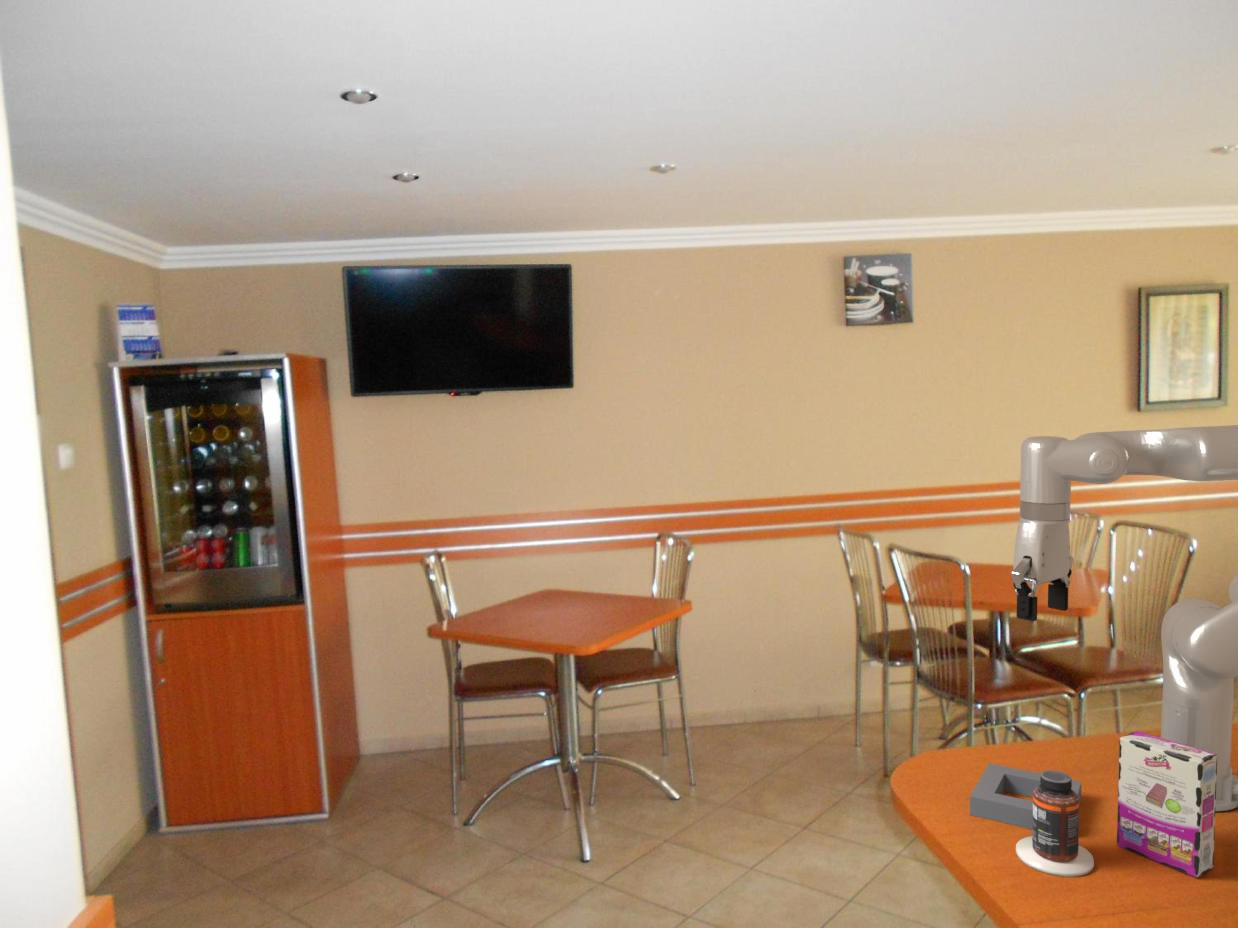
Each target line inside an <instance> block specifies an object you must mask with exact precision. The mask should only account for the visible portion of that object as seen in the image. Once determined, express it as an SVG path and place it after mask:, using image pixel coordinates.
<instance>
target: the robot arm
mask: <svg viewBox="0 0 1238 928" xmlns="http://www.w3.org/2000/svg"><path fill="white" fill-rule="evenodd" d="M1123 476H1155V477H1156V476H1157V477H1165V478H1171V479H1177V480H1182V481H1188V482H1191V481H1192V482H1220V481H1222V482H1223V481H1238V424H1235V425H1214V426H1209V425H1208V426H1193V427H1191V426H1190V427H1189V426H1188V427H1176V428H1175V427H1174V428H1163V429H1142V430H1141V429H1140V430H1137V429H1136V430H1118V431H1099V432H1098V431H1097V432H1095V431H1094V432H1088V433H1085V434H1081V435H1079V436H1078V437H1076V438H1075V439H1068V438H1065V437H1061V436H1050V435H1049V436H1047V435H1046V436H1045V435H1044V436H1042V435H1039V436H1038V435H1037V436H1031V437H1030V436H1029V437H1027V438H1025V439H1024V440H1023V441H1022V443H1021V448H1020V481H1019V482H1020V483H1019V484H1020V486H1019V487H1020V488H1019V522H1018V525H1017V530H1016V536H1015V541H1014V542H1015V544H1014V552H1013V553H1014V554H1013V567H1012V568H1013V570H1012V571H1011V577H1012V581H1013V588H1014V589H1015V591H1014V592H1015V593H1014V594H1015V595H1016V618H1017V619H1018V620H1019V619H1020V620H1025V621H1028V622H1029V621H1030V622H1035V621H1038V596H1036V593H1037V591H1038V589H1039V587H1040V585H1043V584H1046V583H1049V582H1050V583H1049V584H1047V585H1048V587H1047V607H1048V608H1049V609H1053V610H1058V611H1064V612H1065V611H1068V610H1069V586H1070V585H1071V580H1070V578H1071V576H1072V573H1073V572H1072V571H1073V570H1072V567H1073V564H1074V557H1073V556H1071V540H1070V526H1069V525H1070V522H1071V501H1072V500H1071V497H1072V496H1071V493H1072V491H1071V490H1072V482H1080V483H1087V484H1093V485H1107V484H1111V483H1114V482H1116V481H1118V480H1120V479H1121V478H1122V477H1123ZM1029 584H1030V586H1029ZM1228 596H1229V599H1230V602H1231V603H1229V604H1228V605H1226V606H1225V607H1220V606H1219V605H1217V604H1215V603H1213V602H1211V601H1208V600H1205V599H1200V598H1189V599H1183V600H1181V601H1179V602H1176V603H1174V605H1172V606H1171V607H1170V608H1169V609H1168V610H1167V611H1166V612H1165V615H1164V617H1163V619H1162V622H1161V631H1160V634H1161V636H1160V638H1161V639H1160V640H1161V651H1162V672H1163V673H1162V674H1163V675H1162V677H1163V680H1162V681H1163V682H1162V696H1161V697H1162V698H1161V702H1162V703H1161V723H1160V724H1161V725H1160V726H1161V727H1160V738H1163V739H1167V740H1170V741H1174V742H1177V743H1181V744H1184V745H1188V746H1191V747H1195V748H1198V749H1201V750H1204V751H1208V752H1211V753H1215V754H1217V779H1216V805H1215V812H1226V811H1230V810H1233V809H1236V808H1238V776H1237V775H1235V774H1234V775H1233V767H1232V766H1231V756H1232V755H1231V754H1232V753H1231V752H1232V735H1233V734H1232V733H1233V732H1232V731H1233V730H1232V729H1233V712H1234V711H1233V707H1234V693H1235V692H1234V691H1235V690H1234V678H1236V677H1238V574H1237V575H1236V576H1235V577H1234V578H1233V579H1232V581H1231V582H1230V585H1229V589H1228Z"/></svg>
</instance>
